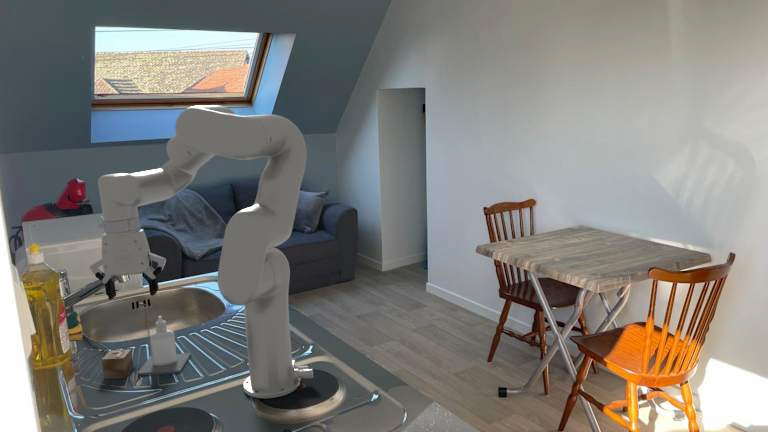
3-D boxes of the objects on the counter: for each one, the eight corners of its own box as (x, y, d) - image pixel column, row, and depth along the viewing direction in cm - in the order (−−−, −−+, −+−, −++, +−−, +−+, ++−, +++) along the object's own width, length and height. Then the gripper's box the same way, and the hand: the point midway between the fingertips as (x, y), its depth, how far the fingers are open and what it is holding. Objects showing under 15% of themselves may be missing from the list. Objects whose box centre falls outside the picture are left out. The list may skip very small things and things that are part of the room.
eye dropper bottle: (171, 366, 141) (166, 319, 139) (150, 366, 142) (144, 319, 140) (180, 359, 146) (175, 313, 143) (159, 358, 146) (153, 313, 144)
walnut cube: (133, 368, 143) (130, 348, 142) (126, 377, 138) (123, 357, 137) (112, 369, 143) (109, 349, 142) (104, 379, 138) (101, 358, 137)
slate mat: (191, 355, 149) (190, 353, 149) (180, 372, 139) (180, 370, 139) (151, 357, 148) (150, 355, 148) (137, 375, 139) (137, 373, 139)
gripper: (77, 232, 133) (89, 304, 136) (155, 225, 134) (165, 297, 137) (91, 226, 140) (102, 294, 143) (164, 220, 141) (174, 288, 144)
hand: (133, 295), depth 140 cm, fingers open, 9 cm apart
